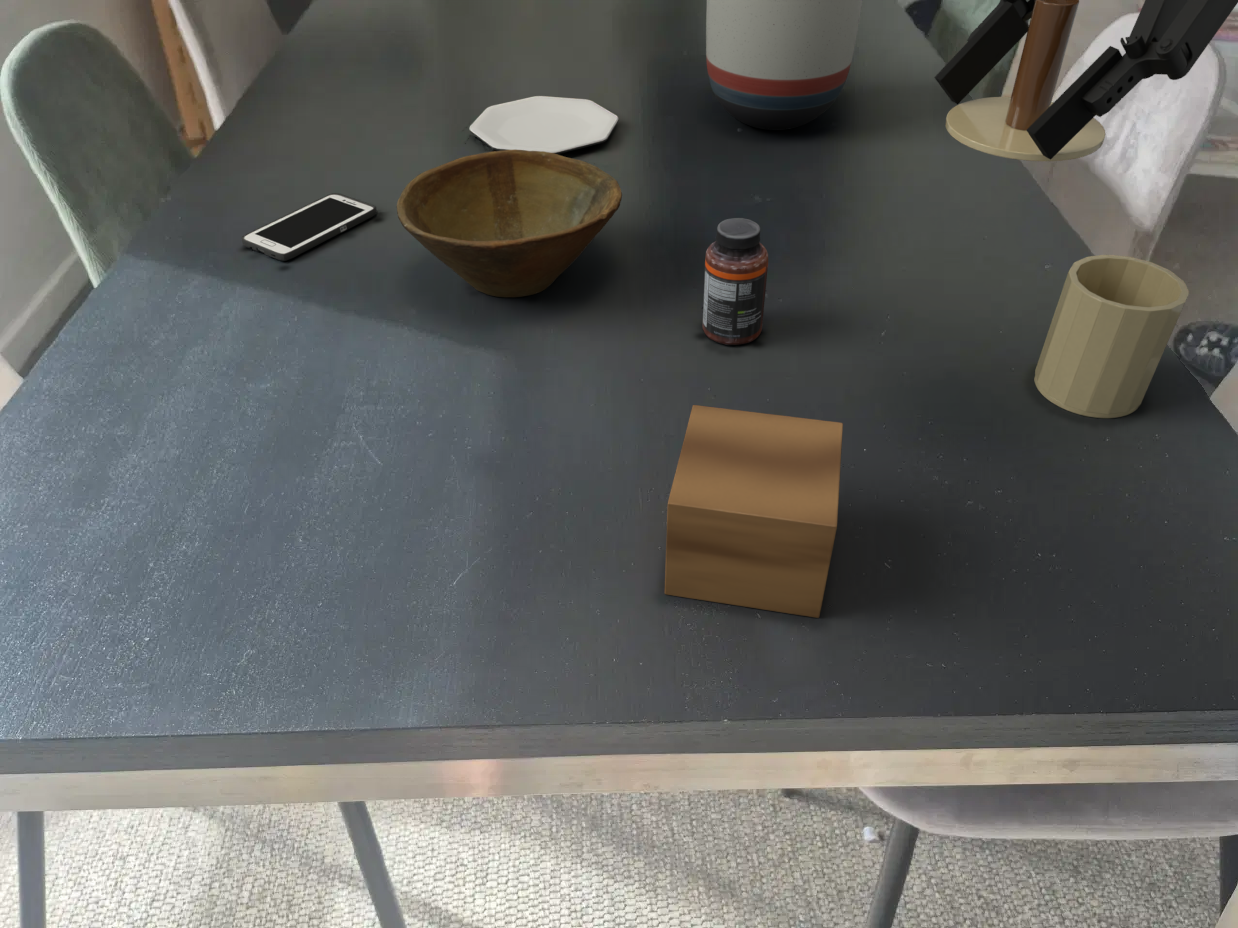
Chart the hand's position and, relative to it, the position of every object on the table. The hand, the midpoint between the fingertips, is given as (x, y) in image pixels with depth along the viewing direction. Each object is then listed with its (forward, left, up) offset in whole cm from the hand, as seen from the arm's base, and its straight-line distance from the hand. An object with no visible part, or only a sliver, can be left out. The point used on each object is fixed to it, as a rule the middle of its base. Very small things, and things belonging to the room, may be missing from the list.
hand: (989, 116), depth 64 cm
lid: (+2, -3, -1) cm, 3 cm away
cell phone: (+25, +68, -27) cm, 78 cm away
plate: (+59, +49, -28) cm, 82 cm away
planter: (+69, +18, -28) cm, 77 cm away
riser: (-17, +12, -27) cm, 35 cm away
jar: (+10, -16, -27) cm, 33 cm away
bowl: (+19, +41, -28) cm, 53 cm away
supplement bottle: (+13, +17, -28) cm, 35 cm away
